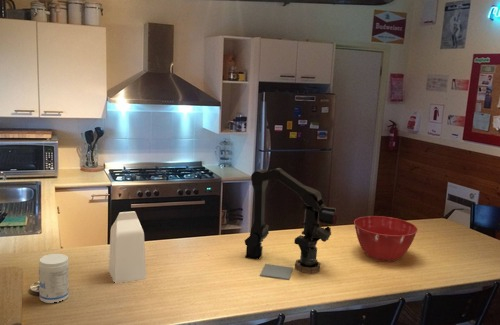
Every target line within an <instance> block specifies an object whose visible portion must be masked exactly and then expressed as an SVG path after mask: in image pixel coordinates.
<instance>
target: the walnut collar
mask: <svg viewBox="0 0 500 325" xmlns="http://www.w3.org/2000/svg"><path fill="white" fill-rule="evenodd" d="M321 265H322V264H321V262H320V261H319V260H318V259H317V258H316V266H315V267H312V268H310V267H303V266H301V265H300V258H299V259H296V260H295V262H294V271H297V272H299V273H301V274H305V275H315V274H318V273H320V271H321Z"/></svg>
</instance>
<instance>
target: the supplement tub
mask: <svg viewBox="0 0 500 325" xmlns="http://www.w3.org/2000/svg"><path fill="white" fill-rule="evenodd" d="M69 267H70V266H69V257H68V255H66V254H63V253H49V254H46V255H42V257H40V258H39V262H38V284H39V285H38V286H39V287H38V288H39V290H38V291H39V300H40V301H41V302H43V303H46V304H55V303H54V302H57V303H60V302H59V301H61V302H63V301H65V300H66V299H67V298H68V297H69V295H70V290H69V289H70V285H69V284H70V283H69V281H70V277H69V275H70V271H69V269H70V268H69ZM62 300H63V301H62Z"/></svg>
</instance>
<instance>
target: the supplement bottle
mask: <svg viewBox="0 0 500 325" xmlns="http://www.w3.org/2000/svg"><path fill="white" fill-rule="evenodd" d="M311 240H312V243H311V244H312V245H311V246H310V247H309V249H308V254H307V258H304V257H303V255H302V252H301V251H300V256H299V257H300V258H299V259H300V265H301V266H303V267H310V268H312V267H315V266H316V259H317V256H318V248H317V245H316V246H315V242H316V240H314V239H311Z"/></svg>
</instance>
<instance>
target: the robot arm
mask: <svg viewBox="0 0 500 325" xmlns="http://www.w3.org/2000/svg"><path fill="white" fill-rule="evenodd" d="M250 179H251V180H250V181H251V186H252V188H253V190H254V200H253V201H254V202H253V203H254V204H253V206H254V207H253V222H252V226H251V228H250V233H249V236H248V237H247V238H246V239H244V244H245V245H246V250H245V251H246V252H245V256H244V258H246V259H251V260H252V259H253V260H260V259H261V257H262V256H263V246H262V244H263V243H262V242H264V240H265V239H266V238H267V237H268V235H269V234H270V233H269V228H270V226H269V225H270V224H266V221H265V214H266V213H265V212H266V211H265V209H266V189H267V187H268V184H269V181H270V180H273V179H276V180H277V181H279V182H281V183H282V185H283V184H284V185H285V186H286V187H287V188H289V189H290V190H292V191H293V192H294V193H296V194H297V195H298V196H299V198H300V199H301V200H302V201H303V202H304V203H303V205H302V206H300V209H301V210H305V211H304V218H303V219H304V221H303V222H302V226H303V230H302V231H301V234H300V235H298V236H297V237H294V245H298V247H299V249H300V253H301V252H302V255H303V257H304V258H307V254H308V249H309V247H310V246H311V245H312V244H311V243H312V240H311V239H314V240H316V242H315V246H316V247H317V243H318V241H322V242H324V243H325V242H327V241H328V240H329V238H330V237H331V235H332V230H331V229H332V228H331V227H330V226H326V227H324V226H323V227H321V223H322V224H327V225H334V226H335V225H336V223H337V220H338V212H337V207H328V206H327V205H326V203H325V202H324V200H323V198H322V193H321V192H320V191H319V190H317V189H315V188H313V187H310V186H307V185H305V184H304V183H302V182H300V181H299V180H297V179H296V178H295V177H293V176H292V175H290V174H289V173H287V172H286V171H284V169H283V168H281V167H278V168H274V169H269V170H266V169H264V168H262V169H257V170H256V171H254V172H252V173H251V177H250Z"/></svg>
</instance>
